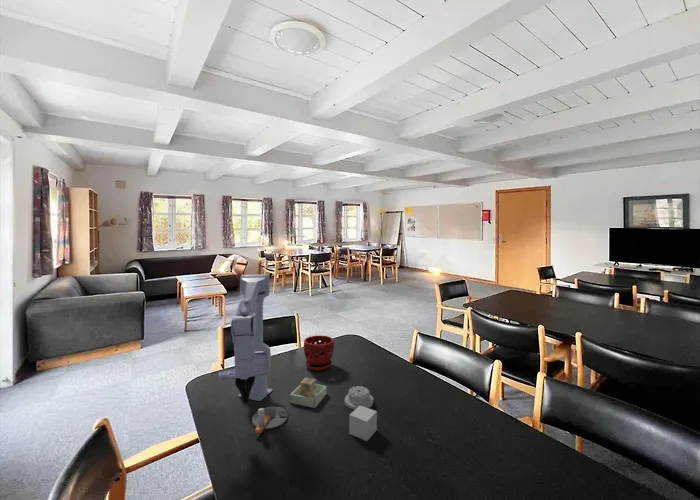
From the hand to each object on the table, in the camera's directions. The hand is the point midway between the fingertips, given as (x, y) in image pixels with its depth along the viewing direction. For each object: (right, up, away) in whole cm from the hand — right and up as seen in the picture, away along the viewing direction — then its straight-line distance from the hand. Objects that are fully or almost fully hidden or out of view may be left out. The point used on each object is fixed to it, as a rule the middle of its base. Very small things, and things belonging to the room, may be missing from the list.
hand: (246, 400), depth 94 cm
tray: (+16, -8, +20) cm, 27 cm away
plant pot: (+17, -7, +46) cm, 49 cm away
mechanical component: (+34, -9, +17) cm, 39 cm away
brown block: (+16, -8, +19) cm, 26 cm away
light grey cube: (+35, -10, +1) cm, 36 cm away
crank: (+5, -9, +4) cm, 11 cm away
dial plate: (+5, -9, +8) cm, 13 cm away
